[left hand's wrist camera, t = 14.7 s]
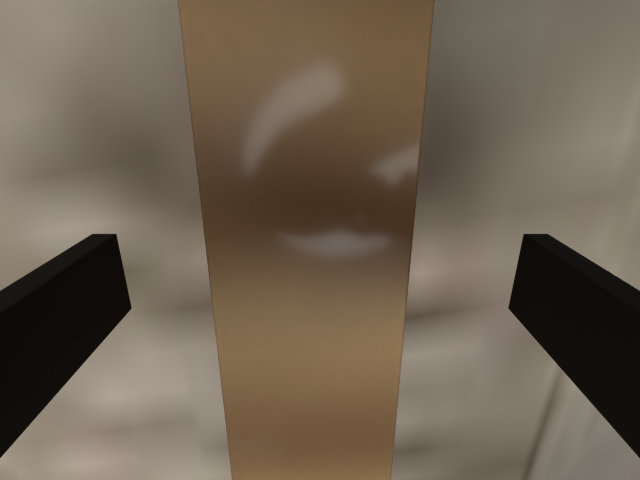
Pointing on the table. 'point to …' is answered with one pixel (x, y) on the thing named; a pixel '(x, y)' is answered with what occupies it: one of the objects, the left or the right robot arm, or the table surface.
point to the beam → (308, 221)
